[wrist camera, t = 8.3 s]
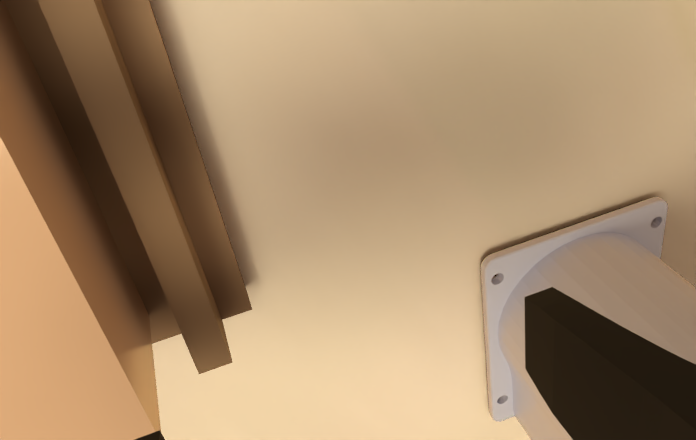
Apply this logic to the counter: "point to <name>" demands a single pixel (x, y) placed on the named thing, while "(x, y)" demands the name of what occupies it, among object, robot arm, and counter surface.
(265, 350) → the counter surface
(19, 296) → the clay bar
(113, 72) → the drying rack
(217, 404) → the counter surface
